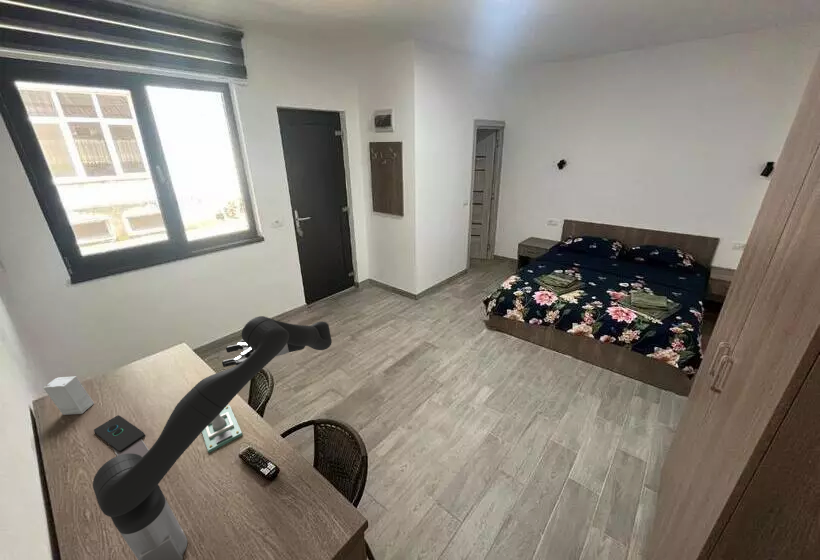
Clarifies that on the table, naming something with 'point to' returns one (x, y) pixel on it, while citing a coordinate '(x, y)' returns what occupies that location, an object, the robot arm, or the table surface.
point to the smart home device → (119, 433)
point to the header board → (222, 431)
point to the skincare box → (69, 395)
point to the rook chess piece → (218, 423)
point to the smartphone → (135, 449)
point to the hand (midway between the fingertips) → (224, 356)
